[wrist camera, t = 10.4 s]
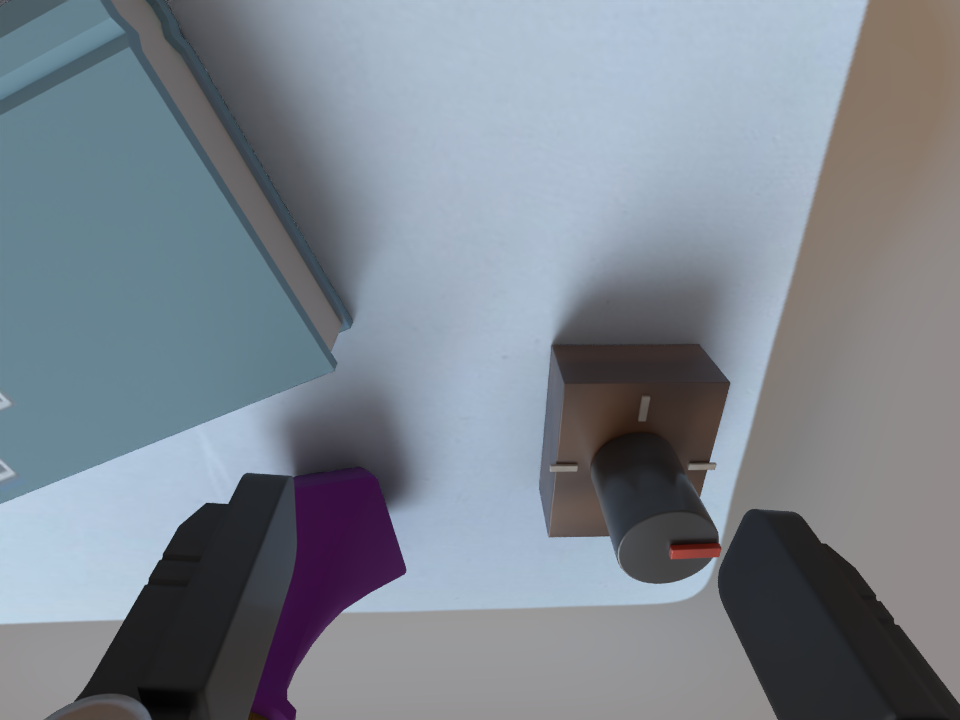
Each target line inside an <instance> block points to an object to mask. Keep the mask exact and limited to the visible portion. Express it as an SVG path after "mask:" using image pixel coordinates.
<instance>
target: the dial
mask: <svg viewBox="0 0 960 720" xmlns="http://www.w3.org/2000/svg"><path fill="white" fill-rule="evenodd" d="M591 478H592V482H593V485H594V488H595V491H596V494H597V497H598V501H599V504H600V507H601V510H602V513H603V516H604V520H605V523H606V526H607V529H608V532H609V535H610V538H611V542H612V545H613V548H614V551H615V554H616V557H617V560H618V563H619V565H620V567H621V568H622V569H623V571H624V572H625V573H626V574H628V575H629V576H630V577H632V578H634V579H636V580H639V581H642V582H646V583H654V584H662V583H671V582H675V581H679V580H682V579H685V578H687V577H689V576H692V575H693V574H695V573H697V572H698V571H700V570H701V569H703V568H704V567H705V566H706V565H707V564H708V563H709V562H710V561H711V559H712V558H713V557H719V556H720V552H721V546H720V544H719V536H718V531H717V529H716V527H715V525H714V523H713V521H712V519H711V518H710V516H709V514H708V512H707V510H706V508H705V507H704V505H703V503H702V501H701V499H700V497H699V496H698V494H697V492H696V490H695V488H694V486H693V485H692V483H691V481H690V479H689V477H688V475H687V474H686V472H685V470H684V468H683V466H682V464H681V462H680V461H679V459H678V457H677V455H676V453H675V451H674V450H673V448H672V447H671V445H670V444H669V443H668V442H667V441H665V440H664V439H662V438H660V437H659V436H656V435H653V434H649V433H631V434H626V435H623V436H620V437H618V438H615V439H613V440H612V441H610V442H609V443H607V444H606V445H605V446H603V447H602V448H601V449H600V450H599V452H598V453H597V454H596V456H595V458H594V460H593V463H592V466H591Z"/></svg>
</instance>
